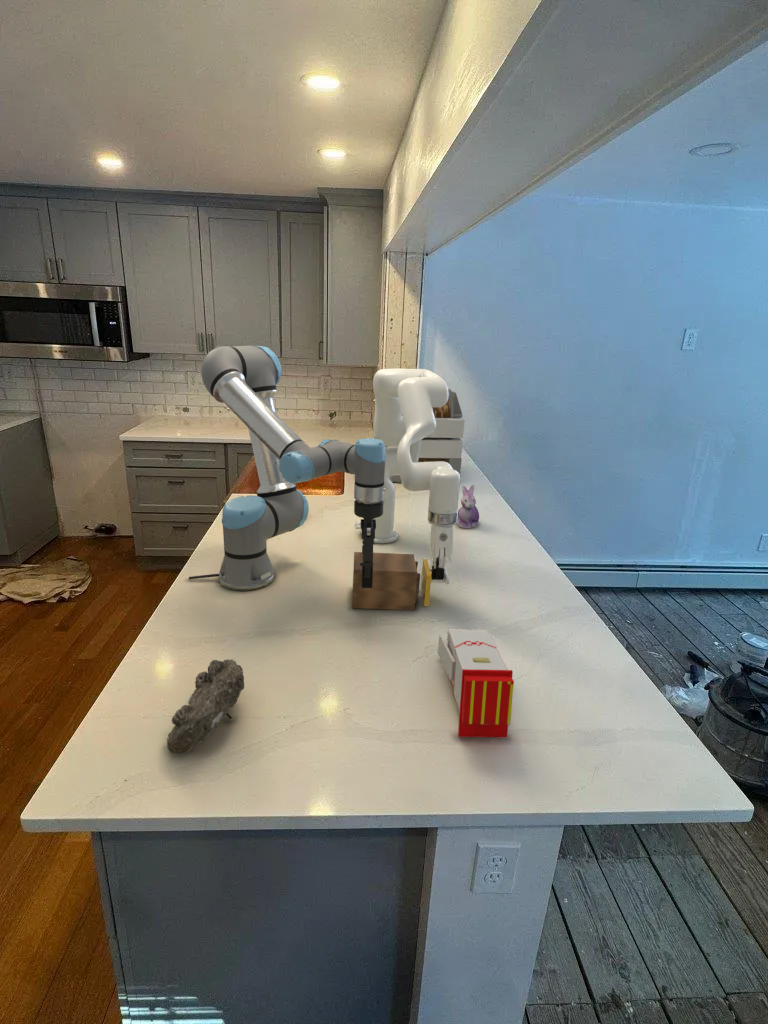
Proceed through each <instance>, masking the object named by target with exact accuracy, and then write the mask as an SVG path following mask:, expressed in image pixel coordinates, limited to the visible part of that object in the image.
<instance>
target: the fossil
mask: <svg viewBox="0 0 768 1024" xmlns="http://www.w3.org/2000/svg"><path fill="white" fill-rule="evenodd" d="M243 670H244V669H243V667H242V665H240V664H237V662H236V661H235V660H234V659H232V658H231V659H227V658H226V659H224V660H223V661H222V660H217V659H212V660H211V661H210V663H209V665H208V666H207V671H201V672H199V673H198V674H197V675H196V676H195V680H194V684H195V685H194V687H195V689H194V690H193V693H192V694H191V697H190V698H189V700H188V704H184V705H182V706H181V707H180V709H177V710H176V711H175V713H174V715H173V716H172V718H171V723H172V724H173V727H172V730H171V731H170V732H168V734H167V738H166V741H167V742H166V745H167V749H168V750H169V751H173V752H174V753H176V754H178V753H182V752H188V751H189V752H192V751H193V750H195V748H196V747H197V746H199V744H200V743H201V742H203V741H204V740H205V739H206V738H207V737H208V736H209V735H210V734H211V733H212V732H214V730H215V729H217V727H218V726H219V724H220V722H221V721H222V720H223V719H224V718H225V716H226V717H227V719H229V720H233V717H232V715H230V714H229V710H230V709H231V708H234V706H235V704H236V703H237V702H238V699H239V697H240V695H241V693H242V691H243V690H245V689H244V688H245V675H244V671H243Z"/></svg>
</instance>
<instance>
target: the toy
mask: <svg viewBox="0 0 768 1024" xmlns="http://www.w3.org/2000/svg"><path fill="white" fill-rule="evenodd" d="M446 640H447V643H446V641H445V639H444V636H443V635H442V634H439V637H438V646H437V656H438V657H439V659H440V661H441V663H442V666H443V668H444V670H445V672H446V674H447V677H448V679H449V681H450V684H451V687H452V690H453V693H454V697H455V701H456V705H457V708H458V711H459V714H458V715H459V716H458V730H457V731H458V732H457V737H458V738H508V731H509V726H510V725H511V717H512V707H513V697H514V696H513V695H514V684H515V680H514V679H513V673H514V671H513V670H512V669H508V667H507V665H506V662H505V661H504V659H503V658H502V655H501V653H500V651H499V649H498V647H497V643H496V639H495V637H494V635H493V634H491V632H490V631H489V629H467V628H466V629H465V628H463V629H461V628H460V629H459V628H448V630H447V639H446Z"/></svg>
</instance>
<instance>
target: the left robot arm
mask: <svg viewBox="0 0 768 1024" xmlns="http://www.w3.org/2000/svg"><path fill="white" fill-rule="evenodd" d="M201 363H202V364H201V369H200V373H201V379H202V383H203V386H204V387H205V389H206V391H207V392H208V393H209V395H211V397H213V398H214V400H215V401H217V402H218V403H222V404H225V405H226V407H228V408H229V409H230V411H231V412H232V413H233V414H234V415H235V416H236V417H237V418H238V419H239V420H240V421H241V422H242V423H243V424H244V425H245V426H246V427H247V429H248V433H249V438H250V443H251V447H252V452H253V457H254V462H255V467H256V472H257V476H258V481H259V486H258V488H257V490H256V495H246V496H244V495H242V496H238V497H234V498H232V499H230V500H229V501H227V502H226V503H225V504H224V505H223V507H222V512H221V513H222V514H221V516H222V517H221V524H222V537H223V553H224V555H223V559H222V562H221V565H220V569H219V572H218V573H210V574H202V575H201V574H200V575H193V576H188V580H198V579H206V578H215V577H216V578H217V577H218V581H219V584H220V585H221V586H222V587H224V588H226V589H229V590H233V591H239V592H240V591H243V592H244V591H254V590H258V589H259V590H260V589H263V588H264V587H267V586H268V585H270V584H271V583H272V582H273V581H274V579H275V570H274V568H273V565H272V563H271V560H270V556H269V554H268V551H267V540H269V539H272V538H274V537H278V536H280V535H283V534H286V533H288V532H289V533H290V532H294V531H295V530H296V529H298V528H300V527H302V526H303V525H304V524H305V522H306V521H307V519H308V517H309V509H310V508H309V502H308V499H307V497H306V495H304V493H303V492H302V491H301V490H299V489H297V484H298V483H306V482H309V481H311V480H315V479H317V478H320V477H325V476H328V475H332V474H335V473H340V472H342V473H346V474H349V475H354V486H353V487H354V488H353V491H354V492H353V498H354V502H353V508H354V509H353V513H354V515H355V516H356V517H358V518H360V522H361V529H360V530H361V533H362V536H361V540H362V542H361V543H362V545H361V552H363V563H360V566H362V588H372V580H373V553H374V545H375V543H374V539H375V530H376V519H374V518H378V517H380V516H382V515H383V505H384V502H383V501H382V500H383V499H384V492H383V491H386V488H384V472H385V461H386V456H385V444H384V442H383V441H381V440H379V439H374V438H371V437H365V438H359V439H357V440H356V441H355V444H354V443H349V442H347V441H346V442H345V441H341V440H338V439H329V438H327V439H323V440H321V442H320V443H318V445H317V446H313V447H311V446H309V445H308V444H307V443H306V442H305V441H304V440H303V439H302V438H301V437H300V436H299V435H298V434H297V433H296V432H295V431H294V430H293V429H292V428H291V427H290V426H289V425H288V424H287V423H286V422H285V421H284V420H283V419H282V418H281V417H280V416H279V415H278V413H277V411H276V405H275V401H274V397H275V395H276V394H277V393H278V388H277V385H278V384H279V382H280V381H281V377H282V366H281V362H280V360H279V358H278V356H277V355H276V353H275V352H274V351H272V350H271V349H270V347H268V346H264V345H256V344H255V345H254V344H251V345H233V346H228V345H227V346H225V345H224V346H219V347H216V348H214V349H212V350H210V351H209V352H208V353H207V354H206V355H205V357H204V358H203V361H202V362H201Z"/></svg>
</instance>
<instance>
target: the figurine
mask: <svg viewBox="0 0 768 1024" xmlns="http://www.w3.org/2000/svg"><path fill="white" fill-rule="evenodd" d="M474 490H475V485H474V484H472V485H471V486H470V487H469V489H468V488H467V487H466V485H462V497H461V500H460V503H461V507H460V508H459V509H458V510H457V521H456V525H458V526H459V528H462V529H463V528H464V529H472V528H475V527H477V526H478V525H479V520H480V513H479V509H478V508H477V506H476V504H477V500H476V497H475V495H474V492H475V491H474Z"/></svg>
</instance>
